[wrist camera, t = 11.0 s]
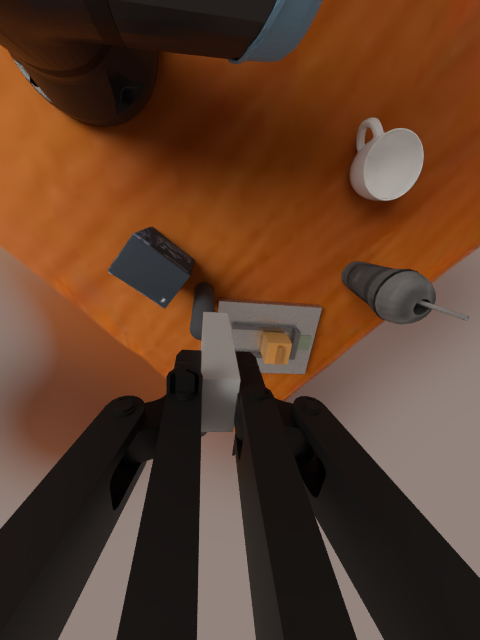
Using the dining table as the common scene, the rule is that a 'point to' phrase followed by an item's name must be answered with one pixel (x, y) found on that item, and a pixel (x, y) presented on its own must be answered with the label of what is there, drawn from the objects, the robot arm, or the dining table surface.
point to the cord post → (201, 308)
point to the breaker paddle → (275, 348)
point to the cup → (385, 162)
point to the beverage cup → (393, 292)
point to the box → (153, 266)
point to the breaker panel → (272, 329)
